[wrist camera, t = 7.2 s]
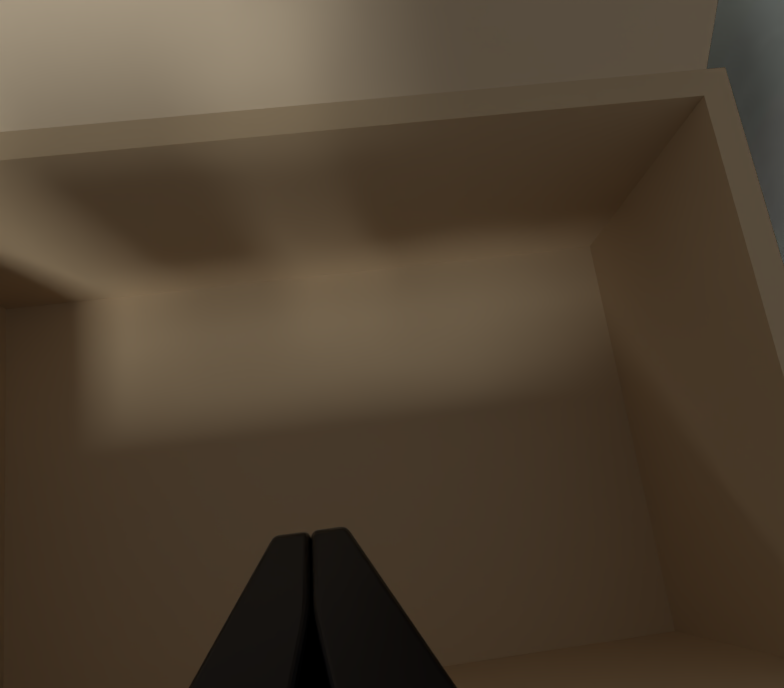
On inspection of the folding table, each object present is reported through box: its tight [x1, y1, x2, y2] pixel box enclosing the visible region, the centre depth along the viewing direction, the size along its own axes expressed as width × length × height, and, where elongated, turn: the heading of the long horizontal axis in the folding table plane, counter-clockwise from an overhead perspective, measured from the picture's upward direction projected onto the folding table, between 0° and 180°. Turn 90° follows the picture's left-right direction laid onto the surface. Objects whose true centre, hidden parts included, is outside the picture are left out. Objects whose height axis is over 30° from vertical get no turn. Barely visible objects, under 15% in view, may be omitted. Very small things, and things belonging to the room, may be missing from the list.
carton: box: [0, 67, 784, 688], centre depth 16 cm, size 12×18×8 cm, turn 98°
